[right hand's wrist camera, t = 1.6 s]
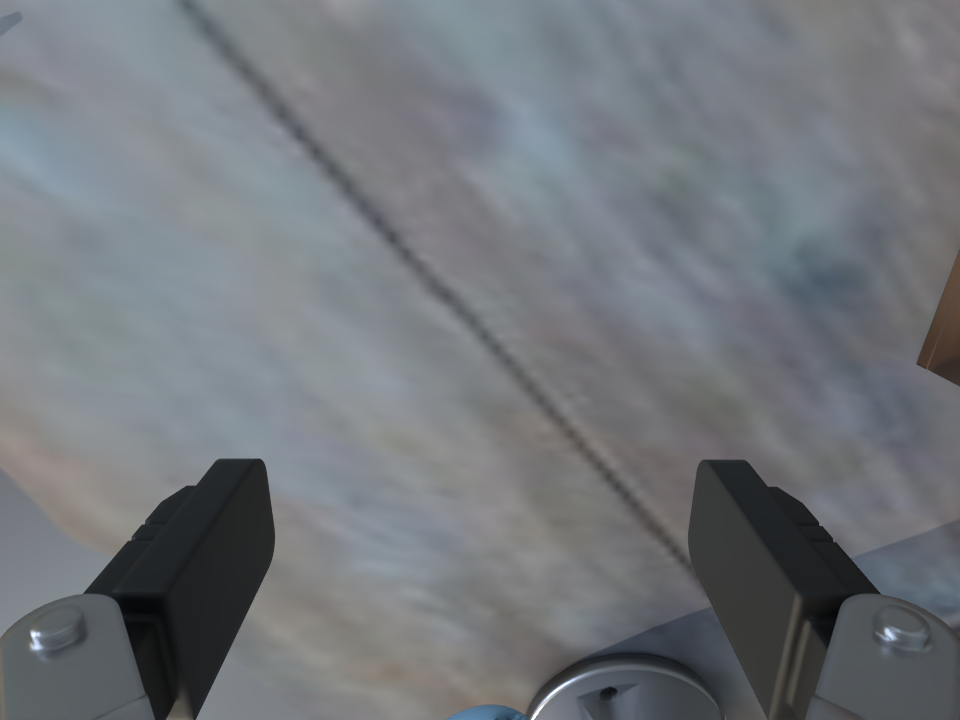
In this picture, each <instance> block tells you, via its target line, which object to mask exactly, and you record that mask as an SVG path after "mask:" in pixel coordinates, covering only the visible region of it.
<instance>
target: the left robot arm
mask: <svg viewBox="0 0 960 720" xmlns="http://www.w3.org/2000/svg"><path fill="white" fill-rule="evenodd" d="M446 720H724V719H723V717H722V714H721V712H720V710H719V707H718V705H717V702H716V700H715V698H714V695H713V694H712V692H711V690H710V689H709V687H708V686H707V685H706V684H705V682H704V681H703V680H702V679H701V678H700V677H699V676H697V675H696V674H695V673H694V672H692V671H691V670H689V669H687V668H686V667H684V666H682V665H680V664H678V663H676V662H673V661H671V660H668V659H665V658H662V657H658V656H653V655H646V654H636V653H621V654H611V655H605V656H600V657H596V658H592V659H589V660H586V661H583V662H580V663H578V664H576V665H573V666H571V667H569V668H567V669H566V670H564V671H562V672H561V673H559V674H558V675H556V676H555V677H553V678H552V679H551V680H550V681H548V682H547V683H546V684H545V685H544V686H543V687H542V688H541V690H540V691H539V692H538V693H537V694H536V696H535V697H534V699H533V700H532V702H531V704H530V706H529V708H528V711H527V713H526V716H525V715H524V714H522V713H521V712H519V711H517V710H515V709H512V708H510V707H507V706H502V705H481V706H476V707H472V708H469V709H466V710H464V711H461V712H459V713H457V714H455V715H453V716H451V717H449V718H447V719H446ZM725 720H727V718H726V713H725Z"/></svg>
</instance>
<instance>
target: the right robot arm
mask: <svg viewBox="0 0 960 720" xmlns="http://www.w3.org/2000/svg"><path fill="white" fill-rule="evenodd" d="M274 545H275V529H274V522H273V514H272V507H271V500H270V492H269V485H268V478H267V471H266V467H265V464H264V462H263V460H261V459H218V460H217V461H216V462H215V463H214V464H213V465H212V466H211V468H210V469H209V470H208V471H207V473H206V474H205V475H204V476H203V478H202V479H201V480H200V481H199V483H198V484H197V485H196V486H186V487H184V488H182V489H181V490H179V491H178V492H176V493H175V494H173V495H172V496H170V497H168V498H167V499H165V500H164V501H162V502H161V503H160V504H159V505H158V507H157V508H156V509H155V510H154V511H153V512H152V514H151V515H150V516H149V517H148V518H147V519H146V521H145V525H141V526H140V528H139V529H138V530H137V531H136V532H135V533H134V535H133V536H132V540H131V541H128V542H127V543H126V544H125V545H124V546H123V547H122V549H121V550H120V551H119V552H118V553H117V555H116V556H115V557H114V558H113V559H112V560H111V562H110V563H109V564H108V565H107V566H106V567H105V569H104V570H103V571H102V572H101V573H100V574H99V576H98V577H97V578H96V579H95V580H94V581H93V583H92V584H91V585H90V586H89V587H88V588H87V590H86V591H85V592H84V593H83V594H80V595H73V596H69V597H65V598H62V599H59V600H55V601H53V602H50V603H48V604H45V605H43V606H41V607H39V608H37V609H35V610H33V611H32V612H30V613H29V614H27V615H25V616H24V617H22V618H21V619H20V620H18V621H17V622H16V623H14V624H13V625H12V626H11V627H10V628H9V629H8V630H7V631H6V632H5V633H4V634H3V635H2V637H1V638H0V720H196V718H197V716H198V714H199V712H200V709H201V707H202V705H203V703H204V701H205V699H206V697H207V695H208V693H209V691H210V689H211V687H212V685H213V683H214V680H215V678H216V676H217V674H218V672H219V670H220V668H221V666H222V664H223V662H224V660H225V658H226V656H227V654H228V651H229V649H230V647H231V645H232V643H233V641H234V639H235V637H236V635H237V633H238V631H239V629H240V627H241V624H242V622H243V620H244V618H245V616H246V614H247V612H248V610H249V608H250V606H251V604H252V602H253V600H254V597H255V595H256V593H257V591H258V589H259V587H260V585H261V583H262V581H263V579H264V577H265V575H266V573H267V570H268V568H269V566H270V564H271V561H272V557H273V552H274ZM688 545H689V553H690V558H691V561H692V565H693V567H694V569H695V571H696V573H697V575H698V577H699V579H700V582H701V584H702V586H703V588H704V590H705V592H706V594H707V596H708V598H709V600H710V602H711V604H712V606H713V608H714V610H715V612H716V614H717V616H718V618H719V620H720V623H721V625H722V627H723V629H724V631H725V633H726V635H727V637H728V639H729V641H730V643H731V645H732V647H733V649H734V651H735V653H736V655H737V657H738V659H739V662H740V664H741V666H742V668H743V670H744V672H745V674H746V676H747V678H748V680H749V682H750V684H751V686H752V688H753V690H754V692H755V694H756V696H757V698H758V700H759V703H760V705H761V707H762V709H763V711H764V713H765V715H766V717H767V719H768V720H960V638H959V637H958V635H957V634H956V633H955V632H954V631H953V630H952V629H951V628H950V627H949V626H948V625H947V624H946V623H944V622H943V621H942V620H940V619H939V618H938V617H936V616H935V615H933V614H931V613H930V612H928V611H927V610H925V609H923V608H921V607H919V606H917V605H915V604H912V603H910V602H907V601H905V600H901V599H898V598H895V597H891V596H887V595H881V594H880V592H879V591H878V590H877V589H876V588H875V587H874V585H873V584H872V583H871V582H870V581H869V580H868V579H867V577H866V576H865V575H864V574H863V573H862V572H861V570H860V569H859V568H858V567H857V566H856V565H855V563H854V562H853V561H852V560H851V559H850V558H849V556H848V555H847V554H846V553H845V552H844V551H843V550H842V548H841V547H840V546H839V545H838V544H837V543H836V542H833V538H832V537H831V536H830V534H829V533H828V532H827V531H826V530H825V529H824V528H823V526H819V522H818V521H817V519H816V518H815V517H814V516H813V515H812V514H811V512H810V511H809V510H808V509H807V508H806V507H805V505H804V504H803V503H801V502H800V501H798V500H797V499H795V498H794V497H792V496H790V495H789V494H787V493H786V492H784V491H783V490H781V489H779V488H778V487H768V486H767V485H766V484H765V483H764V482H763V480H762V479H761V478H760V477H759V475H758V474H757V473H756V472H755V470H754V469H753V468H752V467H751V465H750V464H749V463H748V462H747V461H745V460H702V461H701V462H700V463H699V466H698V469H697V474H696V481H695V488H694V495H693V502H692V509H691V517H690V524H689V532H688Z"/></svg>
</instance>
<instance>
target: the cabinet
mask: <svg viewBox="0 0 960 720" xmlns="http://www.w3.org/2000/svg"><path fill="white" fill-rule="evenodd" d="M917 365H919V366H921V367H923V368H925V369H928V370H930V371H932V372H933V373H935V374H937V375H939V376H941V377H943V378H945V379H947V380H949V381H951V382H952V383H954V384H956V385H958V386H960V251H959V254H958V256H957V259H956V262H955V264H954V267H953V269H952V272H951V275H950V277H949V280H948V283H947V285H946V288H945V290H944V293H943V296H942V298H941V301H940V304H939V306H938V309H937V311H936V314H935V317H934V319H933V322H932V325H931V327H930V330H929V332H928V335H927V338H926V340H925V343H924V346H923V348H922V351H921V354H920V356H919V359H918V361H917Z"/></svg>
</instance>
